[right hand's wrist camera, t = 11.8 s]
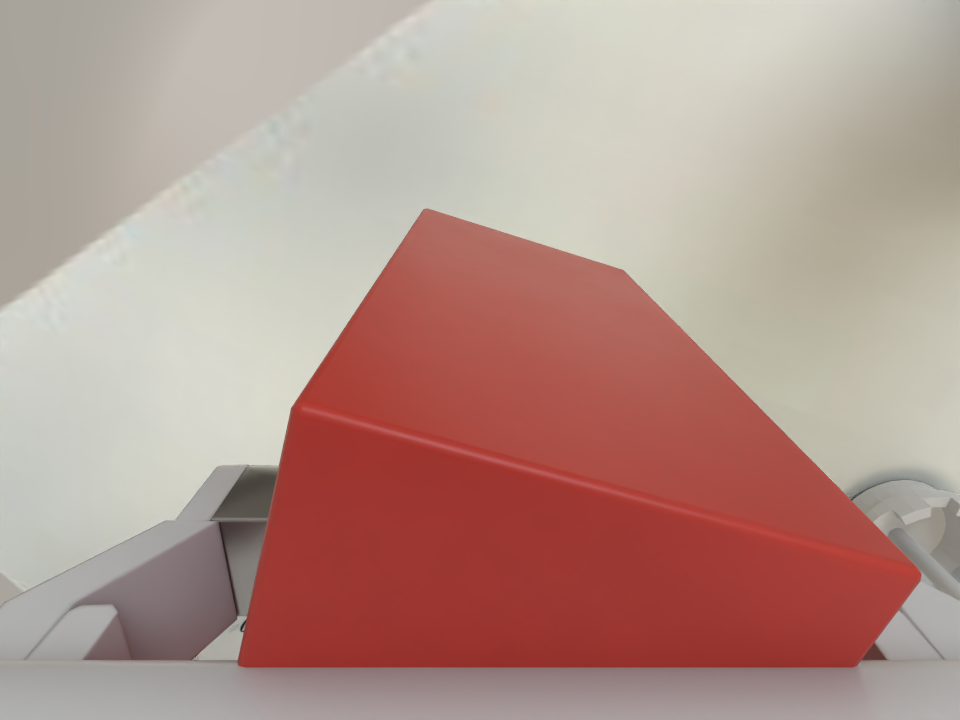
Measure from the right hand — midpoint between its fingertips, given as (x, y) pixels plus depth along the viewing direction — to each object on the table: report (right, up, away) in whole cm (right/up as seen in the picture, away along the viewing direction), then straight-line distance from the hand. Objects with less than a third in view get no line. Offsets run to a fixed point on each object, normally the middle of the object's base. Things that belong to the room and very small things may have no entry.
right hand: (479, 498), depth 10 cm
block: (0, +2, +5) cm, 6 cm away
